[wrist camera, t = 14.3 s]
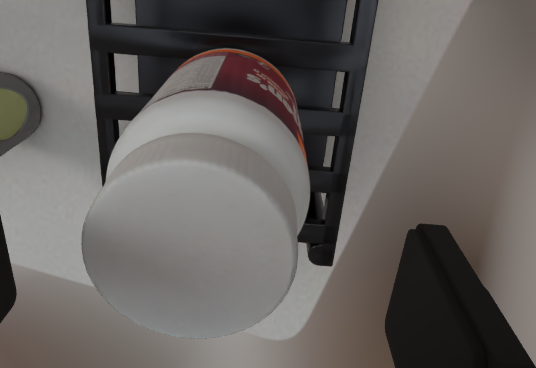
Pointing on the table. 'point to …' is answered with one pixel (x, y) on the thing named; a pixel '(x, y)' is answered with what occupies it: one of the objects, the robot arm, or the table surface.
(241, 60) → the pill bottle
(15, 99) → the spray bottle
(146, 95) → the rack
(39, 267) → the table surface
